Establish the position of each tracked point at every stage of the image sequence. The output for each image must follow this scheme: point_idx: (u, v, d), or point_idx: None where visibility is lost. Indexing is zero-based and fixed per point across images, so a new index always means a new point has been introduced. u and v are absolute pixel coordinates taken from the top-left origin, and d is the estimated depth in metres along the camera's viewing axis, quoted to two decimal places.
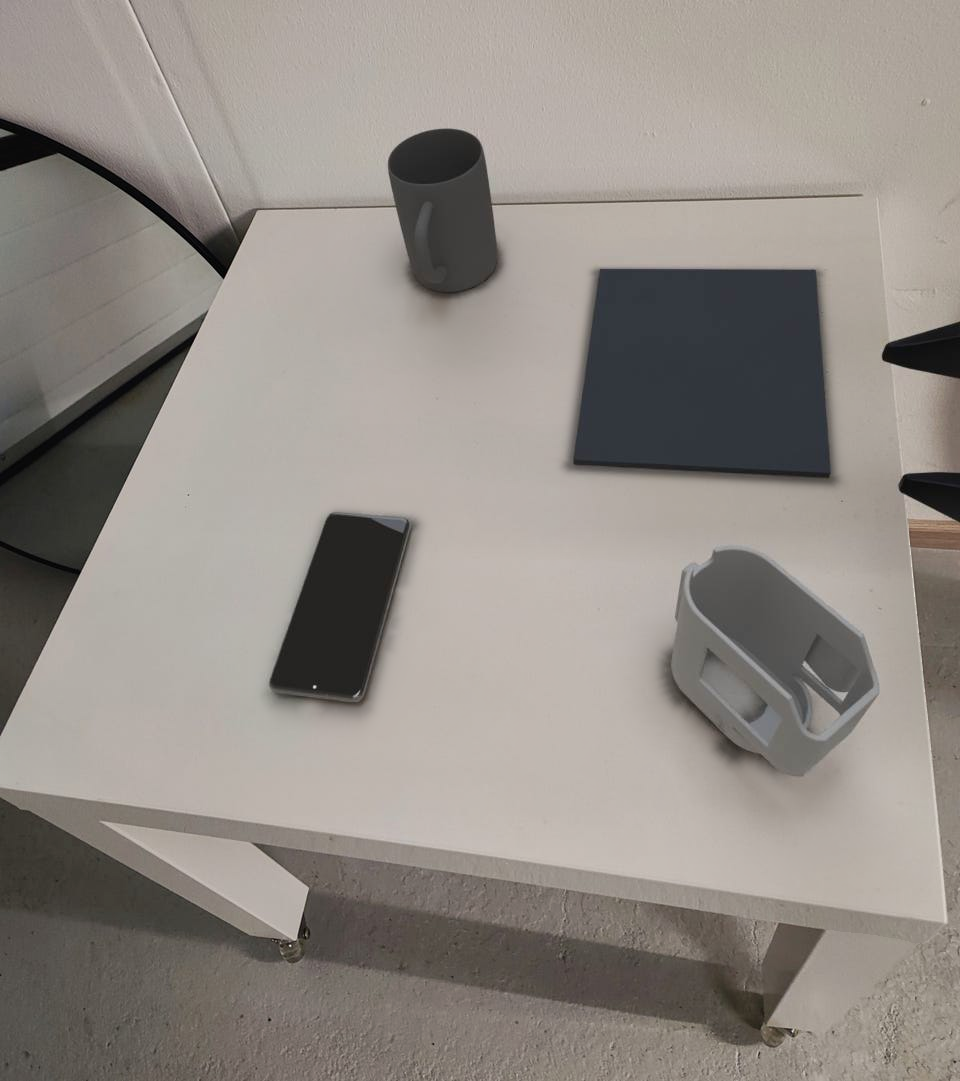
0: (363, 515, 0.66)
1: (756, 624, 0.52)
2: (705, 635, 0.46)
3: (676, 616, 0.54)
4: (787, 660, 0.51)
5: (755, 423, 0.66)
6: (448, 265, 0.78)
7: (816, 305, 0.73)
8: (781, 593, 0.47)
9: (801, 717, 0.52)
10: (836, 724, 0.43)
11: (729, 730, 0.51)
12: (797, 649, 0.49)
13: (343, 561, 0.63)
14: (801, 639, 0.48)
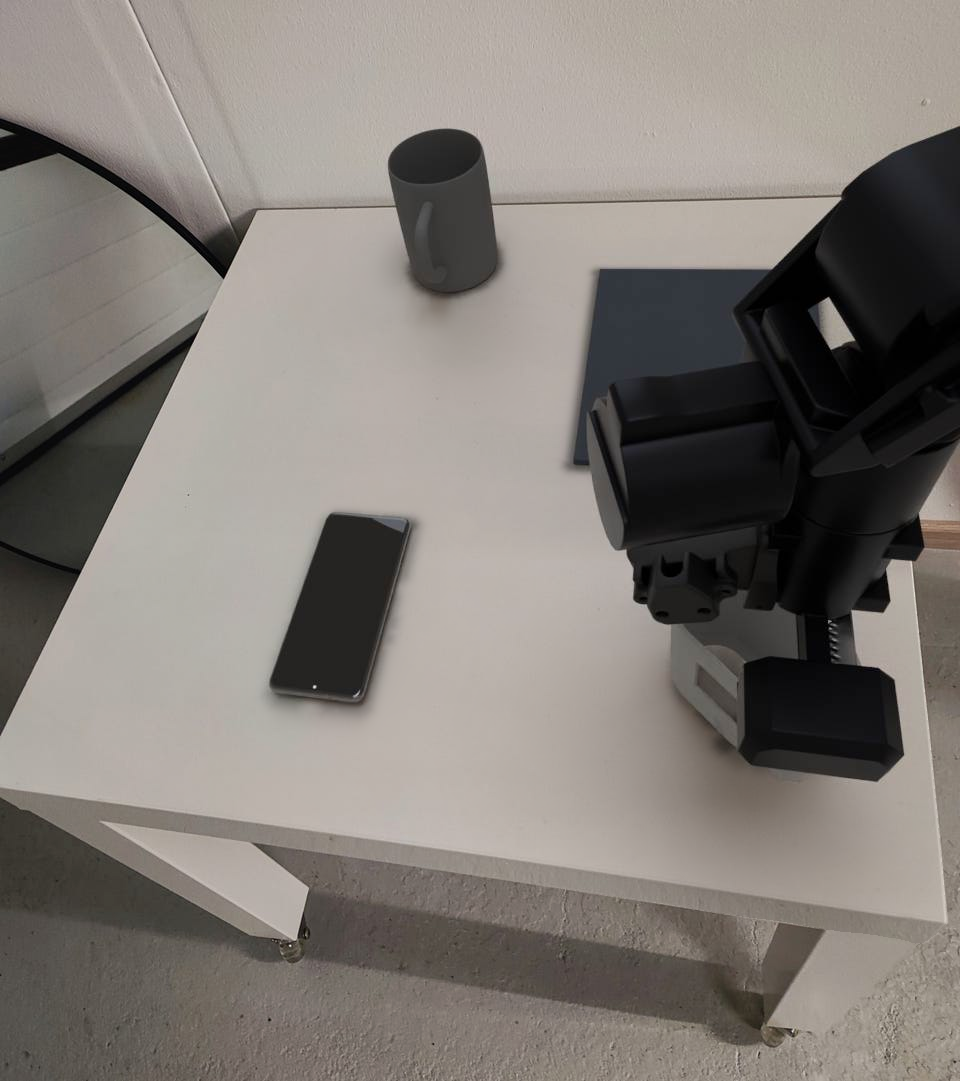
0: (363, 515, 0.66)
1: (753, 627, 0.51)
2: (694, 652, 0.45)
3: None
4: None
5: None
6: (448, 265, 0.78)
7: (816, 305, 0.73)
8: None
9: None
10: None
11: (727, 734, 0.51)
12: (793, 654, 0.49)
13: (343, 561, 0.63)
14: (796, 646, 0.48)
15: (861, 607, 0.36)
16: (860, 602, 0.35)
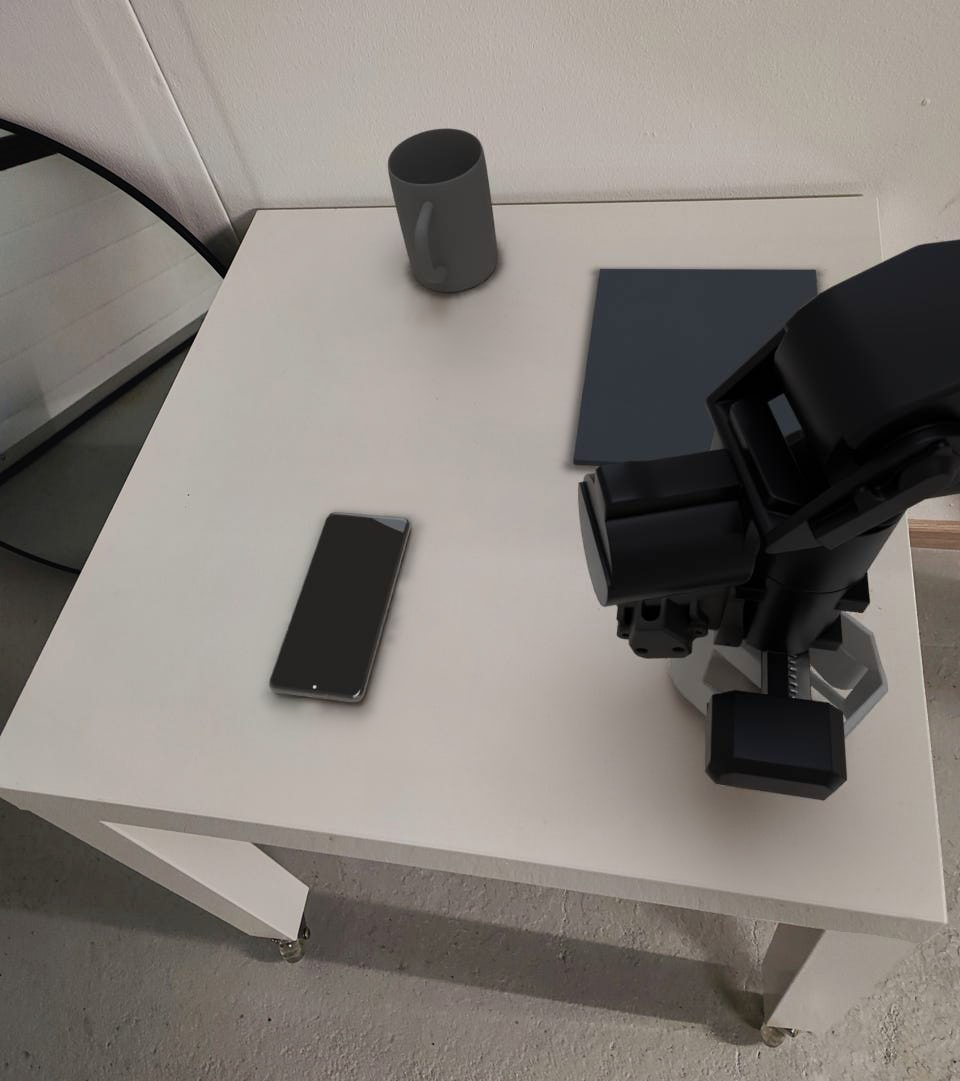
0: (363, 515, 0.66)
1: None
2: None
3: None
4: None
5: None
6: (448, 265, 0.78)
7: None
8: None
9: None
10: (848, 723, 0.43)
11: None
12: None
13: (343, 561, 0.63)
14: None
15: (817, 646, 0.40)
16: (816, 642, 0.40)
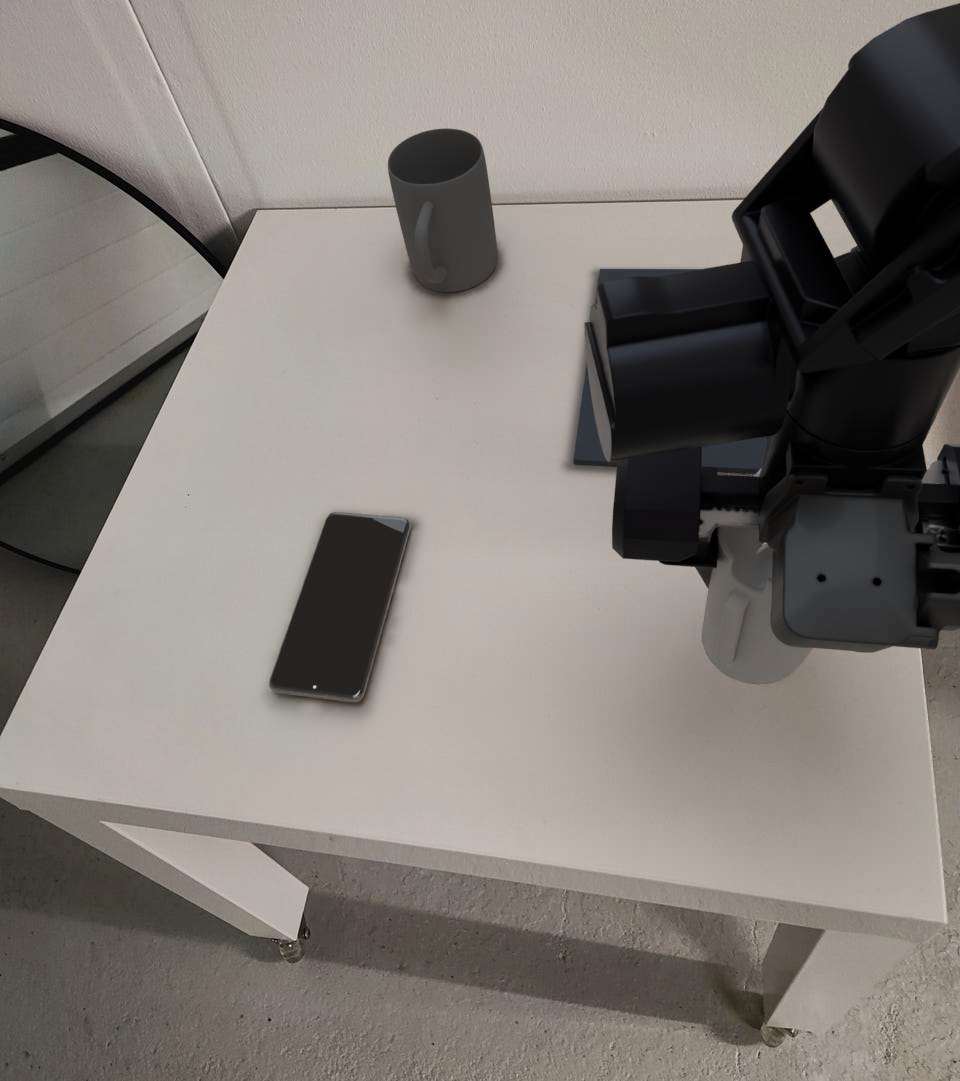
0: (363, 515, 0.66)
1: None
2: None
3: (730, 662, 0.43)
4: (751, 552, 0.47)
5: None
6: (448, 265, 0.78)
7: None
8: None
9: None
10: None
11: None
12: None
13: (343, 561, 0.63)
14: None
15: None
16: None
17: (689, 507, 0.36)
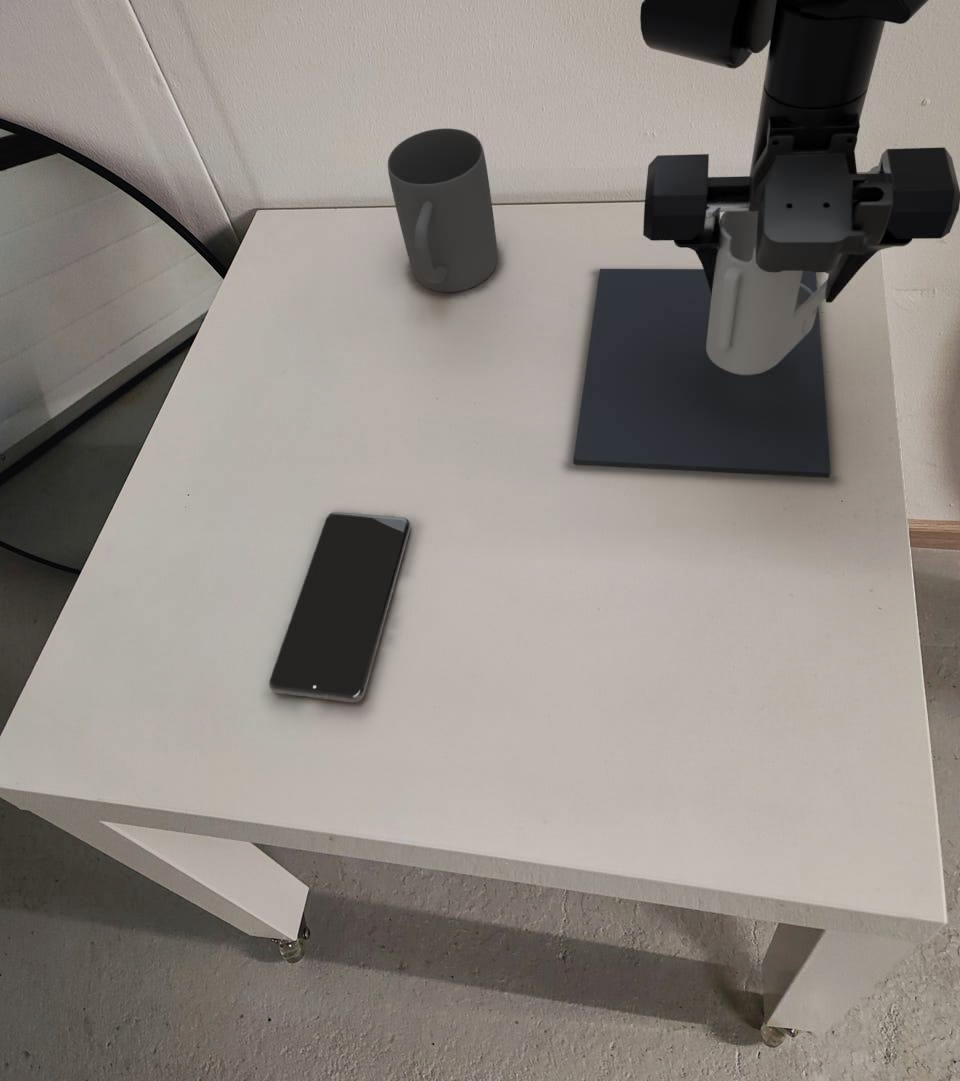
0: (363, 515, 0.66)
1: None
2: None
3: (727, 345, 0.58)
4: None
5: (755, 423, 0.66)
6: (448, 265, 0.78)
7: None
8: (739, 223, 0.56)
9: None
10: None
11: (810, 321, 0.61)
12: (750, 257, 0.60)
13: (343, 561, 0.63)
14: (752, 241, 0.59)
15: None
16: None
17: (700, 191, 0.51)
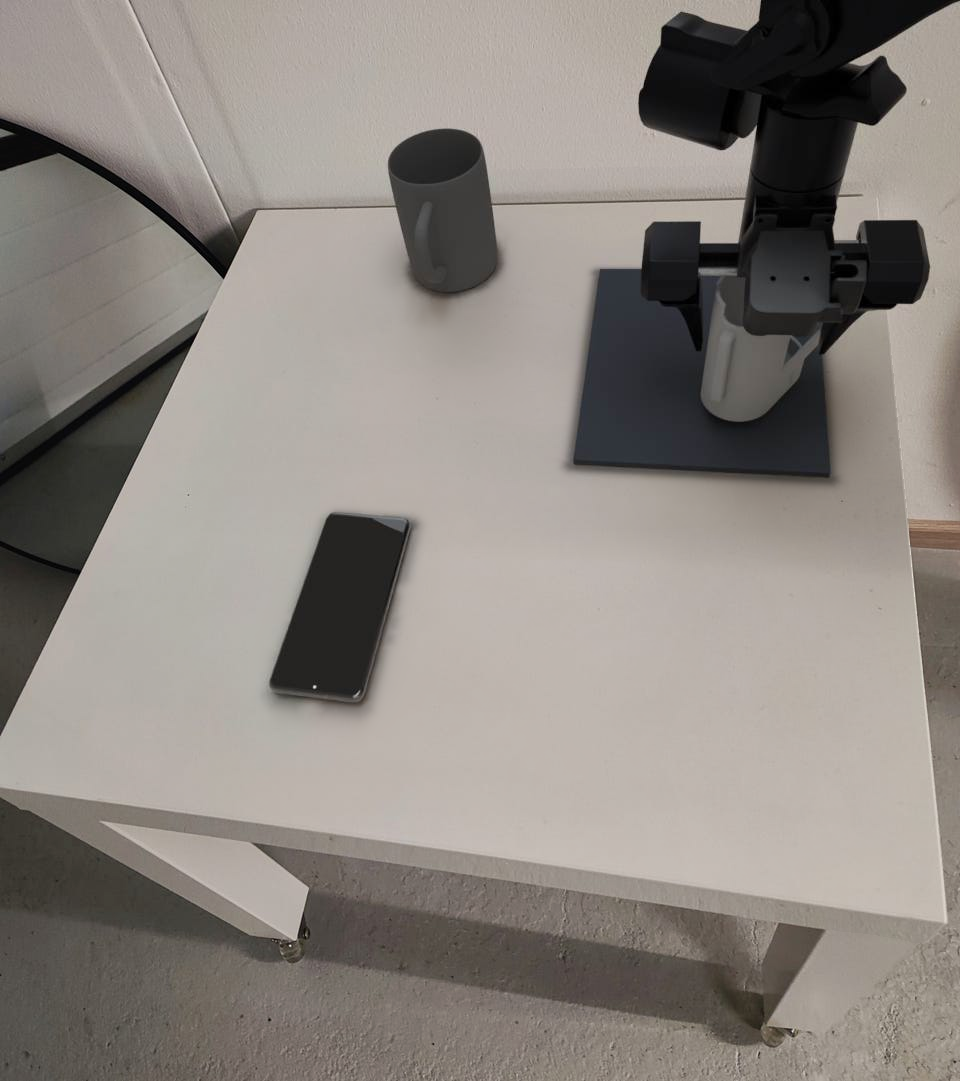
0: (363, 515, 0.66)
1: None
2: None
3: (721, 397, 0.63)
4: None
5: (755, 423, 0.66)
6: (448, 265, 0.78)
7: None
8: (733, 286, 0.61)
9: None
10: None
11: (797, 372, 0.66)
12: (742, 312, 0.65)
13: (343, 561, 0.63)
14: None
15: None
16: None
17: (692, 257, 0.56)
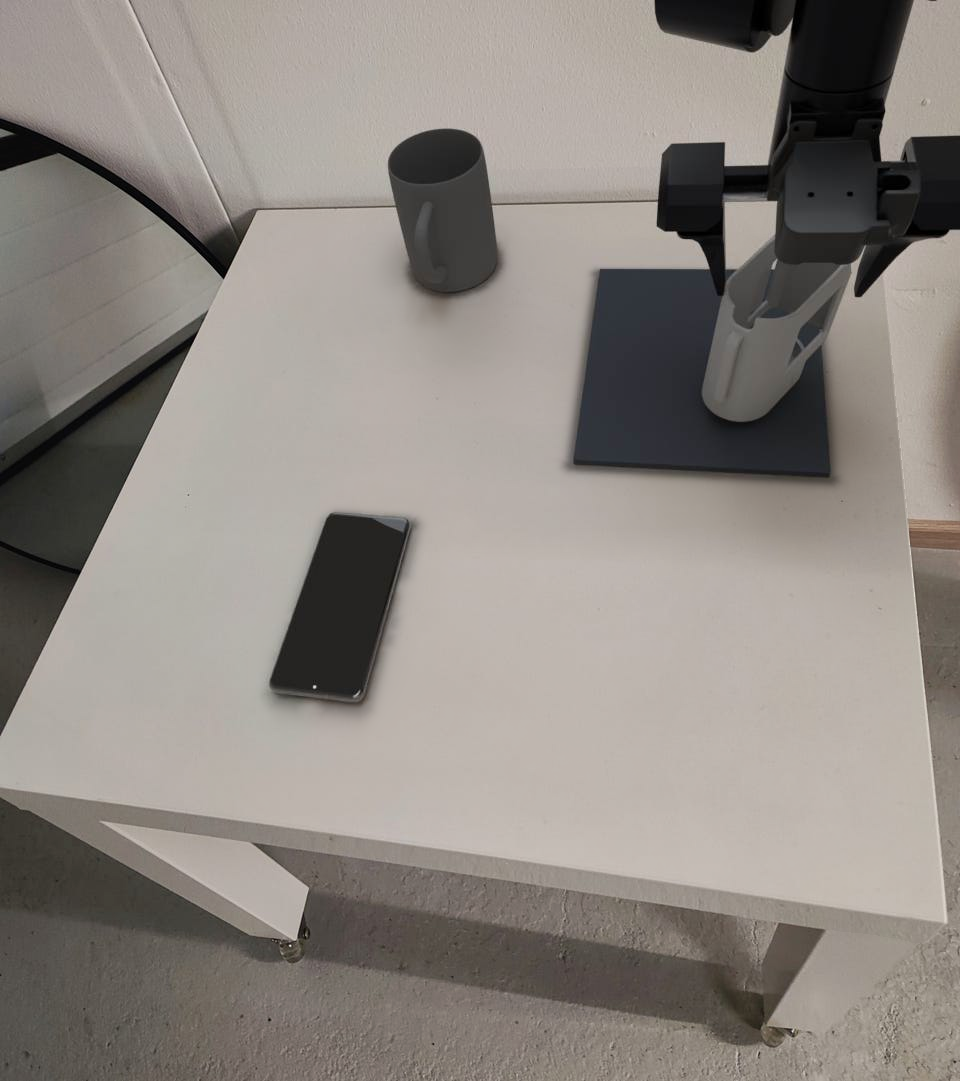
0: (363, 515, 0.66)
1: None
2: (803, 317, 0.57)
3: (724, 398, 0.63)
4: None
5: (755, 423, 0.66)
6: (448, 265, 0.78)
7: None
8: (740, 286, 0.60)
9: None
10: None
11: (798, 373, 0.66)
12: (747, 311, 0.64)
13: (343, 561, 0.63)
14: (750, 298, 0.63)
15: None
16: None
17: (716, 179, 0.49)
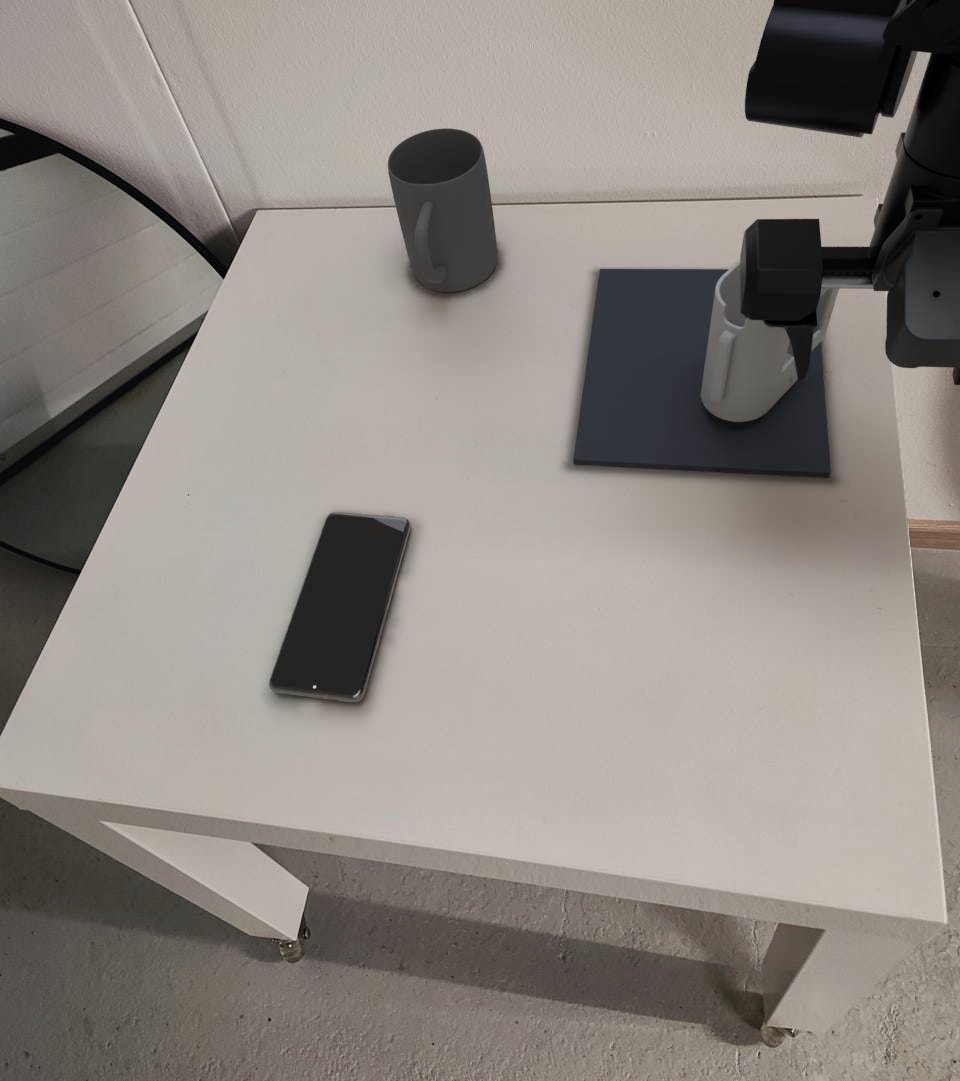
0: (363, 515, 0.66)
1: None
2: None
3: (721, 398, 0.63)
4: None
5: (755, 423, 0.66)
6: (448, 265, 0.78)
7: None
8: (733, 286, 0.61)
9: None
10: None
11: None
12: None
13: (343, 561, 0.63)
14: None
15: None
16: None
17: (813, 265, 0.43)
